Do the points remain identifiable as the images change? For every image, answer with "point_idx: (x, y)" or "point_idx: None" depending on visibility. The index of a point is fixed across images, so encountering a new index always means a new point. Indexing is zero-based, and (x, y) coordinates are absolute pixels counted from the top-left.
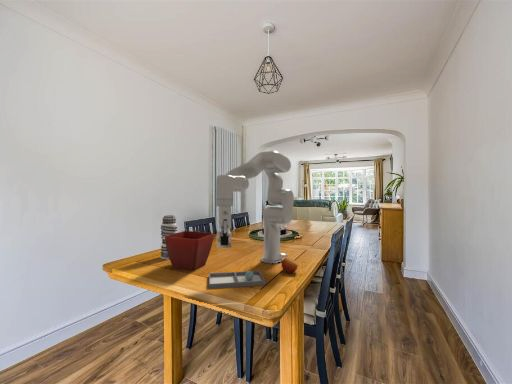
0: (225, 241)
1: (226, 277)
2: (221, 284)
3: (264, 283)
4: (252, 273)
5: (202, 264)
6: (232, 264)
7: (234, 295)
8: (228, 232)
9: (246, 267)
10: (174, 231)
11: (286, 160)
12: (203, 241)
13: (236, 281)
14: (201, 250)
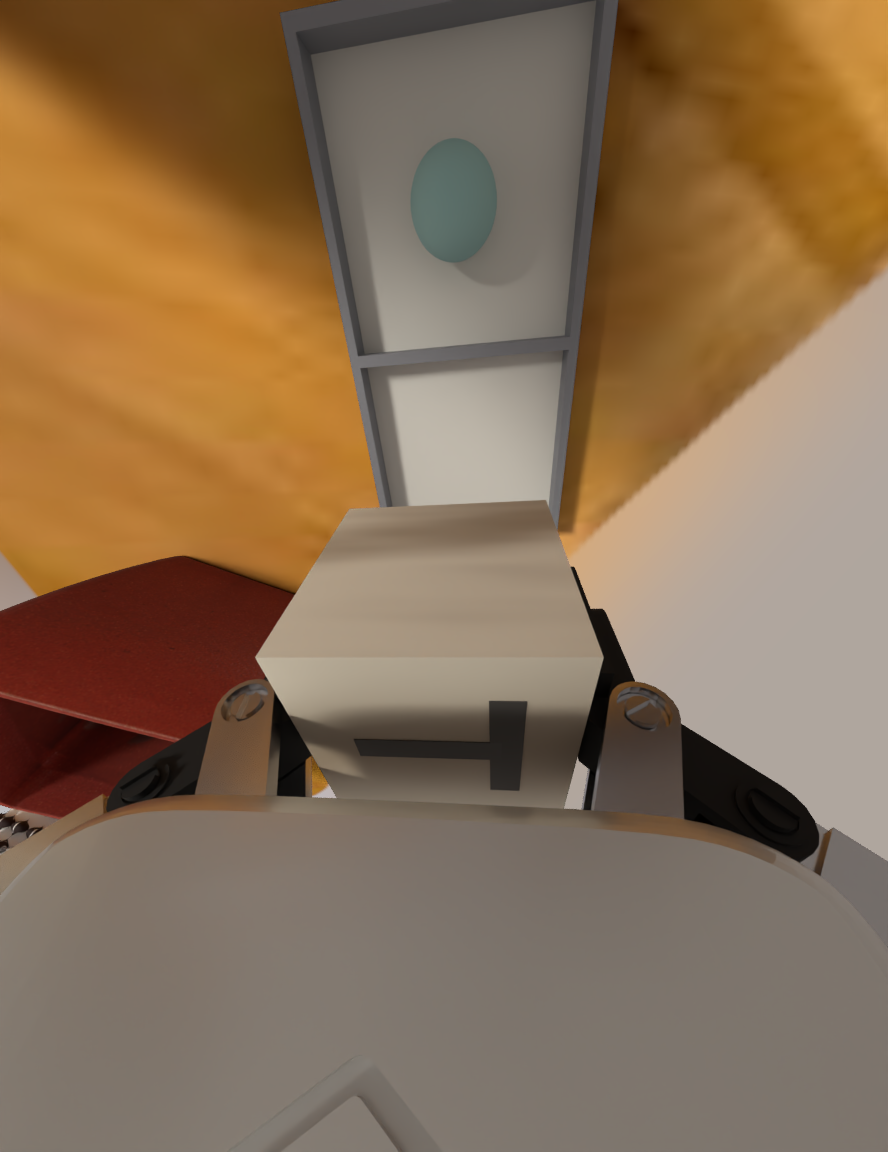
0: (607, 637)
1: (402, 426)
2: (563, 464)
3: None
4: (473, 153)
5: (218, 573)
6: (104, 372)
7: (688, 371)
8: (414, 694)
9: (121, 220)
10: (28, 821)
11: None
12: (171, 698)
13: (521, 352)
14: (224, 651)
